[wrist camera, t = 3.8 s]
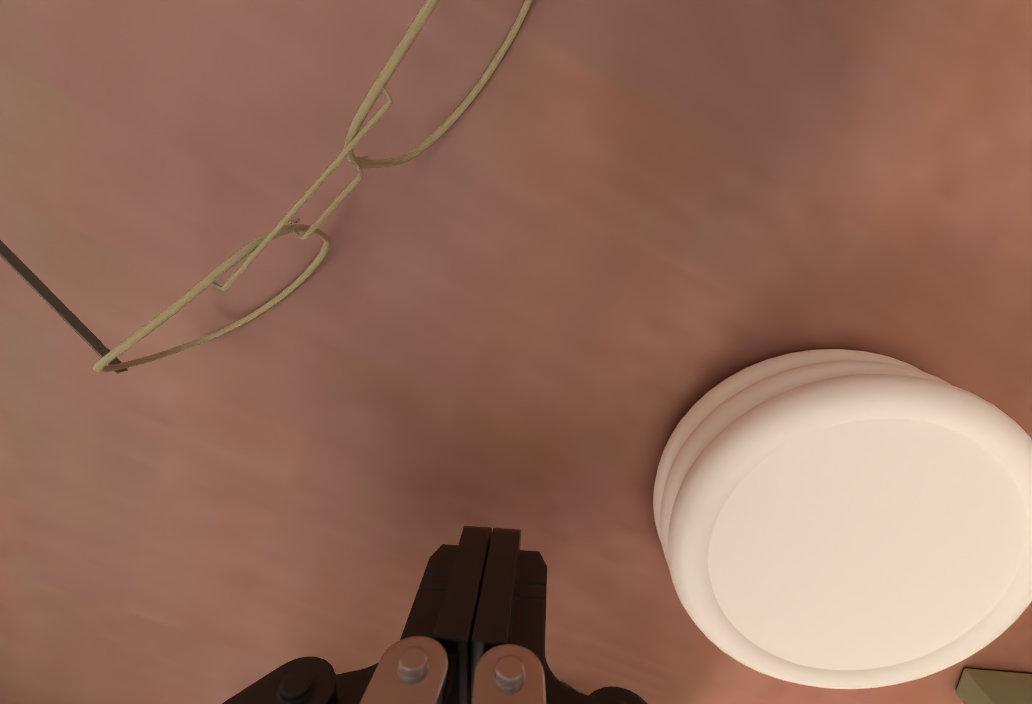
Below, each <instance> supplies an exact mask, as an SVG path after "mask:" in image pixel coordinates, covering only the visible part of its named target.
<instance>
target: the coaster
mask: <svg viewBox="0 0 1032 704" xmlns="http://www.w3.org/2000/svg"><path fill="white" fill-rule="evenodd" d="M653 510H654V519H655V524H656V528H657V532H658V536H659V538H660V541H661V544H662V547H663V551H664V555H665V559H666V561H667V564H668V566H669V570H670V574H671V578H672V582H673V585H674V588H675V590H676V592H677V595H678V597H679V599H680V602H681V603H682V605H683V606H684V608H685V610H686V611H687V613H688V614H689V616H690V617H691V619H692V620H693V621H694V623H695V624H696V625H697V626H698V628H699V629H700V630H701V631H702V632H703V633H704V634H705V636H706V637H707V638H708V639H709V640H710V641H711V642H713V643H714V644H715V645H716V646H717V647H718V648H720V649H721V650H722V651H723V652H725V653H726V654H728V655H729V656H731V657H732V658H734V659H735V660H737V661H738V662H740V663H742V664H744V665H746V666H748V667H750V668H752V669H754V670H756V671H758V672H760V673H763V674H766V675H769V676H772V677H775V678H778V679H781V680H785V681H789V682H794V683H798V684H803V685H807V686H815V687H823V688H832V689H862V688H876V687H882V686H888V685H894V684H900V683H903V682H907V681H911V680H915V679H919V678H922V677H925V676H928V675H930V674H933V673H936V672H938V671H941V670H944V669H946V668H948V667H950V666H952V665H954V664H956V663H958V662H960V661H962V660H964V659H966V658H968V657H969V656H971V655H973V654H974V653H976V652H978V651H979V650H981V649H983V648H984V647H985V646H987V645H988V644H989V643H991V642H992V641H993V640H995V639H996V638H997V637H999V636H1000V635H1001V634H1002V633H1003V632H1004V631H1005V630H1006V629H1007V628H1008V627H1010V626H1011V625H1012V624H1013V623H1014V622H1015V621H1016V620H1017V619H1018V617H1019V616H1020V615H1021V614H1022V613H1023V612H1024V610H1025V609H1026V608H1027V607H1028V606H1029V604H1030V603H1031V601H1032V439H1031V438H1030V437H1029V436H1028V434H1027V433H1026V432H1025V431H1024V430H1023V429H1022V428H1021V427H1020V426H1019V425H1018V424H1017V423H1016V422H1015V421H1014V420H1013V419H1012V418H1010V417H1009V416H1008V415H1006V414H1005V413H1004V412H1003V411H1001V410H1000V409H999V408H997V407H996V406H995V405H993V404H991V403H990V402H988V401H986V400H984V399H982V398H981V397H979V396H977V395H975V394H973V393H971V392H969V391H966V390H963V389H961V388H958V387H955V386H953V385H952V384H950V383H948V382H946V381H944V380H943V379H941V378H939V377H936V376H934V375H931V374H928V373H926V372H923V371H922V370H920V369H918V368H916V367H914V366H913V365H911V364H908V363H905V362H903V361H900V360H897V359H894V358H892V357H889V356H884V355H880V354H875V353H871V352H866V351H855V350H845V349H822V350H808V351H801V352H795V353H789V354H785V355H781V356H778V357H774V358H770V359H767V360H764V361H762V362H759V363H757V364H754V365H752V366H749V367H747V368H745V369H743V370H741V371H739V372H737V373H736V374H734V375H732V376H730V377H728V378H726V379H725V380H723V381H722V382H721V383H719V384H718V385H717V386H715V387H714V388H712V389H711V390H710V391H708V392H707V393H706V394H705V395H704V396H703V397H702V398H701V399H700V400H698V401H697V402H696V403H695V404H694V405H693V406H692V407H691V409H690V410H689V411H688V412H687V413H686V414H685V416H684V417H683V418H682V419H681V420H680V422H679V424H678V425H677V427H676V428H675V430H674V431H673V433H672V434H671V436H670V438H669V440H668V442H667V444H666V446H665V448H664V450H663V453H662V456H661V459H660V462H659V465H658V470H657V475H656V480H655V485H654V495H653Z"/></svg>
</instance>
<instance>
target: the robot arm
mask: <svg viewBox="0 0 1032 704" xmlns="http://www.w3.org/2000/svg"><path fill="white" fill-rule="evenodd" d="M520 544H521V530H518V529H505V528H493V533H492V528H490V527H476V526H464V528H463V532H462V535H461V538H460V542H459V545H445V544H442V545H441V546H440V548H439V549H438V550H437V551H436V552H435V553H434V554H433V555H432V556H431V557H430V558H429V561H428V564H427V567H426V569H425V572H424V576H423V578H422V581H421V583H420V587H419V589H418V592H417V594H416V597H415V600H414V603H413V605H412V608H411V611H410V614H409V617H408V619H407V622H406V625H405V628H404V630H403V633H402V636H401V639H400V641H398V642H396V643H395V644H393V645H392V646H391V647H390V648H389V649H387V651H386V652H385V653H384V654H383V656H382V658H381V659H380V662H379V663H377V664H375V665H373V666H370V667H368V668H365V669H361V670H357V671H352V672H347V673H342V674H338V675H335V672H334V669H333V667H332V666H331V665H330V664H329V663H328V662H327V661H326V660H324V659H321V658H318V657H303V658H298V659H295V660H292V661H290V662H287V663H286V664H284V665H282V666H280V667H279V668H277V669H276V670H274V671H272V672H271V673H269V674H268V675H266V676H265V677H263V678H261V679H260V680H258V681H257V682H255V683H254V684H252V685H250V686H249V687H247V688H246V689H244V690H243V691H241V692H239V693H238V694H236V695H235V696H233V697H232V698H230V699H228V700H227V701H225V702H224V703H222V704H647V703H646V702H645V701H644V700H643V699H642V698H641V697H639V696H638V695H637V694H635V693H633V692H631V691H630V690H627V689H624V688H620V687H604V688H600V689H598V690H596V691H594V692H593V693H592V694H590V695H589V696H586V695H584V694H582V693H579V692H577V691H575V690H573V689H571V688H569V687H567V686H565V685H564V684H563V683H561V682H560V681H559V680H558V679H557V678H556V677H555V676H554V675H553V674H552V672H551V670H550V669H549V667H548V665H547V662H546V658H545V622H546V584H547V565H546V564H545V562H544V560H543V558H542V556H541V554H540V552H537V551H524V550H520Z"/></svg>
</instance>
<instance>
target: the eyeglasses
mask: <svg viewBox="0 0 1032 704" xmlns="http://www.w3.org/2000/svg"><path fill="white" fill-rule="evenodd" d="M438 1H439V0H426V1H425V2H424V4H423V6H422V7H421V9H420V11H419V12H418V14H417V16H416V17H415V19H414V21H413V22H412V24H411V25H410V27H409V29H408V30H407V32H406V34H405V35H404V37H403V39H402V40H401V42H400V43H399V45H398V46H397V48H396V50H395V51H394V53H393V54H392V56H391V57H390V59H389V61H388V62H387V64H386V65H385V67H384V69H383V70H382V72H381V73H380V75H379V76H378V78H377V80H376V81H375V83H374V84H373V86H372V88H371V89H370V91H369V93H368V94H367V96H366V98H365V99H364V101H363V103H362V105H361V106H360V108H359V110H358V111H357V113H356V115H355V117H354V118H353V120H352V122H351V125H350V127H349V130H348V132H347V135H346V138H345V144H344V150H343V151H342V152H341V153H340V154H339V156H338V157H337V158H336V159H335V160H334V161H333V162H332V163H331V165H330V166H329V167H328V168H327V169H326V170H325V171H324V172H323V174H322V175H321V176H320V177H319V178H318V179H317V180H316V181H315V183H314V184H313V185H312V186H311V187H310V188H309V189H308V190H307V192H306V193H305V194H304V195H303V196H302V197H301V198H300V199H299V201H298V202H297V203H296V204H295V205H294V206H293V207H292V209H291V210H290V211H289V212H288V213H287V214H286V215H285V216H284V218H283V219H282V220H281V221H280V222H279V223H278V224H277V225H276V227H275V228H274V229H273V230H271V231H269V232H267V233H265V234H263V235H261V236H259V237H258V238H256V239H254V240H253V241H251V242H250V243H248V244H247V245H245V246H244V247H243V248H241V249H240V250H239V251H237V252H236V253H235V254H233V255H232V256H231V257H229V258H228V259H227V260H226V261H224V262H223V263H222V264H221V265H219V266H218V267H217V268H216V269H215V270H213V271H212V272H211V273H210V274H209V275H207V276H206V277H205V278H204V279H203V280H201V281H200V282H199V283H198V284H197V285H195V286H194V287H193V288H192V289H191V290H189V291H188V292H187V293H186V294H184V295H183V296H182V297H181V298H180V299H178V300H177V301H176V302H175V303H174V304H172V305H171V306H170V307H168V308H167V309H166V310H165V311H163V312H162V313H161V314H159V315H158V316H157V317H155V318H154V319H153V320H151V321H150V322H149V323H147V324H146V325H145V326H143V327H142V328H141V329H140V330H138V331H137V332H136V333H134V334H133V335H132V336H130V337H129V338H128V339H126V340H125V341H124V342H122V343H121V344H120V345H118V346H117V347H116V348H114V349H113V350H111V351H110V350H109V349H108V348H107V349H106V347H105V346H104V345H103V344H102V342H101V341H100V340H99V339H98V338H97V337H96V336H95V335H94V334H93V333H92V332H91V331H90V330H89V329H88V328H87V327H86V326H85V325H84V324H83V323H82V322H81V321H80V320H79V319H78V318H77V317H76V316H75V315H74V314H73V313H72V312H71V311H70V310H69V309H68V308H67V307H66V306H65V305H64V304H63V303H62V302H61V301H60V300H59V299H58V298H57V297H56V296H55V295H54V294H53V293H52V292H51V291H50V290H49V289H48V288H47V287H46V286H45V285H44V284H43V283H42V282H41V281H40V280H39V279H38V278H37V277H36V276H35V274H34V273H33V272H32V271H31V270H30V269H29V268H28V267H27V266H26V265H25V264H24V263H23V262H22V261H21V260H20V259H19V258H18V257H17V256H16V255H15V254H14V253H13V252H12V251H11V250H10V249H9V248H8V247H7V246H6V245H5V244H4V243H3V242H2V241H1V240H0V256H1V257H2V258H3V259H4V260H5V261H6V262H7V263H8V264H9V265H10V266H11V267H12V268H13V269H14V270H15V271H16V272H17V273H18V274H19V275H20V276H21V277H22V278H23V279H24V280H25V281H26V282H27V283H28V284H29V285H30V286H31V287H32V288H33V289H34V290H35V291H36V292H37V293H38V294H39V295H40V296H41V297H42V298H43V299H44V300H45V301H46V302H47V303H48V304H49V305H50V306H51V307H52V308H53V310H54V311H55V312H56V313H57V314H58V315H59V316H60V317H61V318H62V319H63V320H64V321H65V322H66V323H67V324H68V325H69V326H70V327H71V328H72V329H73V330H74V331H75V332H76V333H77V334H78V335H79V336H80V337H81V338H82V339H83V340H84V341H85V342H86V343H87V344H88V345H89V346H90V347H91V346H92V349H93V350H94V351H95V352H96V353H97V354H98V355H99V356H100V357H101V359H100V360H98V361H97V362H96V363H95V364H94V366H93V368H94V370H95V371H98V372H109V371H115V372H116V373H117V374H118V373H120V372H124V371H127V370H128V369H127V368H129V367H133V366H136V365H140V364H144V363H147V362H151V361H154V360H157V359H160V358H163V357H166V356H169V355H172V354H175V353H178V352H180V351H183V350H185V349H188V348H191V347H193V346H196V345H199V344H201V343H203V342H206V341H208V340H211V339H213V338H216V337H218V336H220V335H222V334H225V333H227V332H229V331H232V330H233V329H235V328H237V327H239V326H241V325H243V324H245V323H247V322H249V321H250V320H252V319H254V318H255V317H257V316H259V315H260V314H262V313H263V312H265V311H266V310H268V309H269V308H271V307H272V306H274V305H275V304H276V303H278V302H279V301H281V300H282V299H283V298H285V297H286V296H287V295H289V294H290V293H291V292H292V291H293V290H294V289H296V288H297V287H298V286H299V285H300V284H301V283H302V282H303V281H304V280H306V279H307V278H308V277H309V276H310V275H311V273H312V272H313V271H314V270H315V269H316V268H317V267H318V265H319V264H320V263H321V261H322V260H323V258H324V257H325V255H326V254H327V251H328V249H329V247H330V239H329V237H328V236H327V235H326V234H325V233H324V232H322V231H321V230H319V229H317V228H318V227H319V225H320V224H321V223H322V222H323V221H324V220H325V219H326V218H327V217H328V216H329V215H330V213H331V212H332V211H333V210H334V209H335V208H336V207H337V206H338V205H339V204H340V203H341V201H342V200H343V199H344V198H345V197H346V196H347V195H348V194H349V193H350V192H351V191H352V190H353V188H354V187H355V186H356V185H357V184H358V183H359V182H360V181H361V180H362V178H363V172H362V169H361V167H362V168H382V167H389V166H395V165H399V164H402V163H404V162H407V161H409V160H411V159H412V158H414V157H415V156H417V155H418V154H420V153H421V152H423V151H424V150H425V149H427V148H428V147H429V146H430V145H431V144H432V143H434V142H435V141H436V140H437V139H438V138H439V137H440V136H441V135H442V134H443V133H445V132H446V131H447V129H448V128H449V127H450V126H451V125H452V124H453V123H454V122H455V121H456V120H457V119H458V118H459V117H460V115H461V114H462V113H463V112H464V111H465V110H466V108H467V107H468V106H469V105H470V104H471V102H472V101H473V100H474V98H475V97H476V96H477V94H478V93H479V92H480V91H481V89H482V88H483V87H484V85H485V84H486V82H487V81H488V79H489V78H490V76H491V75H492V73H493V72H494V70H495V69H496V67H497V66H498V64H499V63H500V61H501V59H502V58H503V56H504V55H505V53H506V51H507V50H508V48H509V46H510V45H511V43H512V42H513V40H514V38H515V36H516V34H517V32H518V31H519V29H520V27H521V25H522V23H523V20H524V18H525V16H526V14H527V12H528V9H529V7H530V5H531V2H532V0H525V1H524V4H523V6H522V8H521V10H520V13H519V15H518V17H517V19H516V21H515V23H514V25H513V27H512V29H511V31H510V32H509V34H508V36H507V38H506V40H505V41H504V43H503V45H502V46H501V48H500V49H499V51H498V53H497V54H496V56H495V57H494V59H493V61H492V62H491V64H490V65H489V67H488V68H487V70H486V71H485V73H484V74H483V76H482V77H481V78H480V80H479V81H478V83H477V84H476V85H475V87H474V88H473V89H472V91H471V92H470V93H469V95H468V96H467V97H466V98H465V100H464V101H463V102H462V103H461V105H460V106H459V107H458V108H457V109H456V110H455V111H454V112H453V114H452V115H451V116H450V117H449V118H448V119H447V120H446V121H445V122H444V123H443V124H442V125H441V126H440V127H439V128H438V129H437V130H436V131H435V132H434V133H433V134H432V135H431V136H430V137H428V138H427V139H426V140H425V141H424V142H422V143H421V144H420V145H418V146H417V147H415V148H414V149H412V150H411V151H409V152H408V153H406V154H404V155H402V156H399V157H395V158H391V159H383V160H364V159H366V158H368V156H364V157H355V155H354V154H353V148H354V147H355V146H356V145H357V144H358V143H359V142H360V140H361V139H362V138H363V137H364V136H365V135H366V134H367V133H368V131H369V130H370V129H371V128H372V127H373V126H374V125H375V124H376V123H377V121H378V120H379V119H380V118H381V117H382V116H383V115H384V114H385V112H386V111H387V110H388V109H389V108H390V107H391V105H392V98H391V95H390V94H389V92H388V90H387V89H386V88H385V85H386V84H387V82H388V81H389V79H390V78H391V76H392V74H393V73H394V71H395V70H396V68H397V67H398V65H399V64H400V62H401V61H402V59H403V57H404V56H405V54H406V53H407V51H408V50H409V48H410V47H411V45H412V43H413V42H414V40H415V39H416V37H417V35H418V34H419V32H420V30H421V29H422V27H423V25H424V24H425V22H426V21H427V19H428V17H429V16H430V14H431V12H432V11H433V9H434V7H435V6H436V4H437V3H438ZM382 90H383V91H384V92H385V93H386V96H387V101H386V103H385V104H384V105H383V106H382V107H381V108H380V109H379V110H378V112H377V113H376V114H375V115H374V116H373V117H372V118H371V119H370V121H369V122H368V123H367V124H366V125H365V126H364V127H363V128H362V130H361V131H360V132H359V133H358V131H359V129H360V127H361V125H362V123H363V122H364V120H365V118H366V116H367V114H368V112H369V111H370V109H371V108H372V106H373V104H374V103H375V101H376V100H377V98H378V96H379V95H380V93H381V92H382ZM345 157H346V158H347V160H348V161H349V162H350V163H352V164H353V165H355V166H356V167H357V170H358V175H357V176H356V177H355V178H354V179H353V181H352V182H351V183H350V184H349V185H348V186H347V187H346V188H345V189H344V190H343V191H342V193H341V194H340V195H339V196H338V197H337V198H336V199H335V200H334V201H333V202H332V203H331V205H330V206H329V207H328V208H327V209H326V210H325V211H324V212H323V213H322V214H321V216H320V217H319V218H318V219H317V220H316V221H315V222H314V223H313V224H312V225H311V226H309V225H304V224H293V225H292V224H291V222H294V223H297V222H298V221H300V219H299V218H297V219H295V220H290V219H291V218H292V217H293V215H294V214H295V213H296V212H297V211H298V210H299V209H300V208H301V207H302V205H303V204H304V203H305V202H306V201H307V200H308V199H309V198H310V196H311V195H312V194H313V193H314V192H315V191H316V190H317V189H318V187H319V186H320V185H321V184H322V183H323V182H324V181H325V180H326V179H327V177H328V176H329V175H330V174H331V173H332V172H333V171H334V170H335V168H336V167H337V166H338V165H339V164H340V163H341V162H342V161H343V159H344V158H345ZM289 220H290V221H289ZM288 221H289V224H290V225H287V226H285V224H286V223H287V222H288ZM297 232H305V233H304V234H303V235H301V234H299V233H297ZM288 233H293V234H294V235H296V236H297V237H299V238H300V239H307V238H308V237H309V236H310V235H311V234H313V235H316V236H318V237H319V238H321V239H322V240H323V246H322V248H321V250H320V252H319V254H318V255H317V257H316V258H315V260H314V261H313V262H312V263H311V265H310V266H309V267H308V268H307V269H306V270H305V271H304V272H303V273H302V274H301V276H300V277H298V278H297V279H296V280H295V281H294V282H293V283H292V284H291V285H290V286H288V287H287V288H286V289H285V290H284V291H282V292H281V293H280V294H279V295H277V296H276V297H275V298H273V299H272V300H270V301H269V302H268V303H266V304H265V305H263V306H262V307H260V308H259V309H257V310H256V311H254V312H252V313H251V314H249V315H248V316H246V317H244V318H242V319H240V320H238V321H237V322H235V323H233V324H231V325H229V326H227V327H225V328H222V329H220V330H218V331H216V332H213V333H211V334H209V335H206V336H204V337H201V338H199V339H196V340H194V341H191V342H188V343H186V344H183V345H180V346H178V347H175V348H172V349H169V350H166V351H163V352H160V353H157V354H154V355H150V356H147V357H143V358H140V359H136V360H132V361H128V362H123V363H122V362H121V361H120V360H119V359H118V358H117V357H118V356H119V355H120V354H122V353H123V352H124V351H126V350H127V349H129V348H130V347H131V346H133V345H134V344H136V343H137V342H138V341H140V340H141V339H142V338H144V337H145V336H146V335H148V334H149V333H150V332H152V331H153V330H154V329H156V328H157V327H158V326H160V325H161V324H162V323H164V322H165V321H166V320H168V319H169V318H170V317H171V316H173V315H174V314H175V313H176V312H178V311H179V310H180V309H181V308H183V307H184V306H185V305H186V304H188V303H189V302H190V301H191V300H193V299H194V298H195V297H196V296H197V295H199V294H200V293H201V292H202V291H203V290H205V289H206V288H207V287H208V286H210V285H211V284H213V285H214V287H216V288H218V289H219V290H222V291H226V290H227V289H228V288H229V287H230V286H231V285H232V284H233V283H234V282H235V280H236V279H237V278H238V277H239V276H240V275H241V274H242V273H243V271H244V270H245V269H246V268H247V267H248V266H249V265H250V264H251V263H252V261H253V260H254V259H255V258H256V257H257V256H258V255H259V254H260V252H261V251H262V250H263V249H264V248H265V247H266V246H267V245H268V243H269V242H270V241H271V240H273V239H275V238H277V237H279V236H282V235H285V234H288ZM251 252H252V254H251V255H250V256H249V257H248V258H247V259H246V260H245V261H244V263H243V264H242V265H241V266H240V267H239V268H238V269H237V271H236V272H235V273H234V274H233V275H232V276H231V277H230V278H229V280H228V281H227V282H226V283H225V284H224V285H223V286H220V285H218V284H217V283H216V282H214V281H216V280H217V279H218V278H219V277H220V276H222V275H223V274H224V273H225V272H226V271H228V270H229V269H230V268H231V267H233V266H234V265H235V264H237V263H238V262H239V261H240V260H242V259H243V258H244V257H246V256H247V255H248V254H250V253H251ZM100 350H101V351H100ZM107 364H108V365H107ZM106 365H107V366H106Z"/></svg>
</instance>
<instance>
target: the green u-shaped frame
mask: <svg viewBox="0 0 1032 704" xmlns="http://www.w3.org/2000/svg"><path fill="white" fill-rule="evenodd" d="M956 693H957V694H958V696H959V697H960V698H961V699H962V700H963V702H964V703H965V704H1032V674H1026V673H1014V672H1003V671H991V670H980V669H968V668H966V669H964V671H963V673H962V676H961V679H960V681H959V684H958V687H957V689H956Z"/></svg>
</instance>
